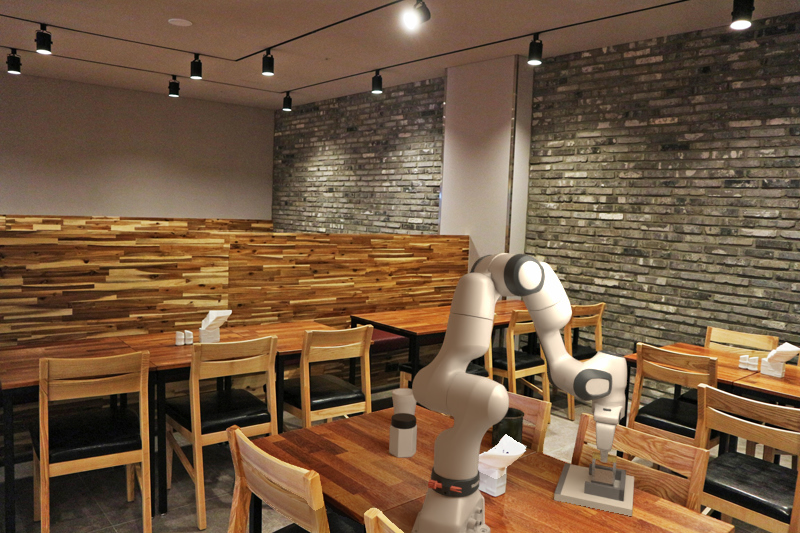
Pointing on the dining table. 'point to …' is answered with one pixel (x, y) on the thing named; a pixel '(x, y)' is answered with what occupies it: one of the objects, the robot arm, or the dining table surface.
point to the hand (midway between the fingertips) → (605, 455)
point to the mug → (509, 426)
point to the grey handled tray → (603, 471)
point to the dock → (595, 489)
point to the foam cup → (403, 401)
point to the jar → (403, 435)
